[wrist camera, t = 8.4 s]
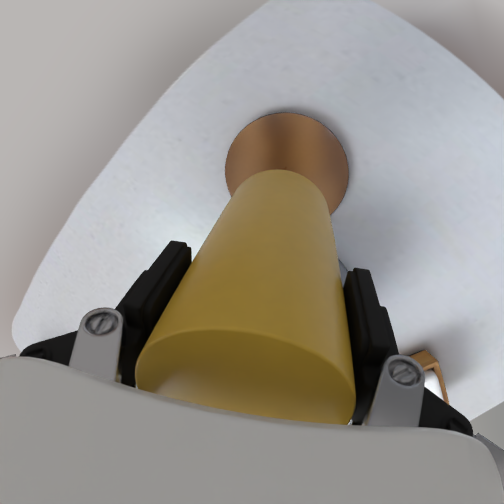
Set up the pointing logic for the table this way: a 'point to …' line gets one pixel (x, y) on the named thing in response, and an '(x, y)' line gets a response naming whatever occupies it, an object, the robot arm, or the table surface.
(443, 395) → the soap dish
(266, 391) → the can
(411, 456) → the robot arm
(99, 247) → the table surface
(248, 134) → the coaster
